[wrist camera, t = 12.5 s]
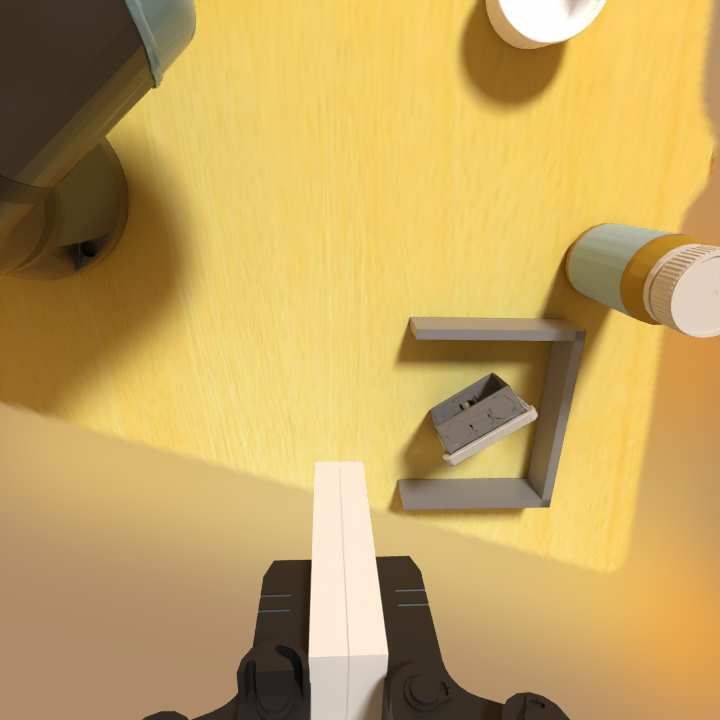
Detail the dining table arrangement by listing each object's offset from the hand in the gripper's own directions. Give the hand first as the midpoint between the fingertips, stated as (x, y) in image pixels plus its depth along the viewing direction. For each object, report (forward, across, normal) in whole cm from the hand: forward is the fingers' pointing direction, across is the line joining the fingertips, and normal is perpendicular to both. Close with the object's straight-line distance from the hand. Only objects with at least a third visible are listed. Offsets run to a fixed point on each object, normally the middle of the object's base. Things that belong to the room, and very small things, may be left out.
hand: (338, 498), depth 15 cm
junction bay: (+32, +16, -13) cm, 38 cm away
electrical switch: (+33, +14, -12) cm, 38 cm away
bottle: (+33, +26, +3) cm, 42 cm away
